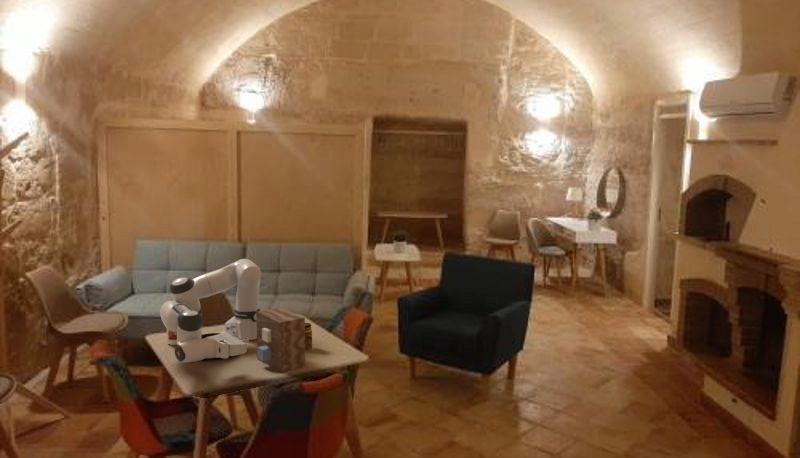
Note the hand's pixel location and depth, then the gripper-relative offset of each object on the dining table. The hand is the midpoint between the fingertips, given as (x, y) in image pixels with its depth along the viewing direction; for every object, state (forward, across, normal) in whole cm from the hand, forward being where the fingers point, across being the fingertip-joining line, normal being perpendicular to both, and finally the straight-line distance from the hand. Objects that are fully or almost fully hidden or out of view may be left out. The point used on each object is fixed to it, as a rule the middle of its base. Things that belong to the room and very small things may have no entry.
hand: (247, 340), depth 267 cm
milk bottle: (-11, -56, -14) cm, 59 cm away
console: (+16, 0, -14) cm, 21 cm away
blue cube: (+8, 0, -10) cm, 13 cm away
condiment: (+34, -11, -14) cm, 39 cm away
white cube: (+11, 0, -2) cm, 11 cm away
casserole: (-4, -29, -14) cm, 33 cm away
